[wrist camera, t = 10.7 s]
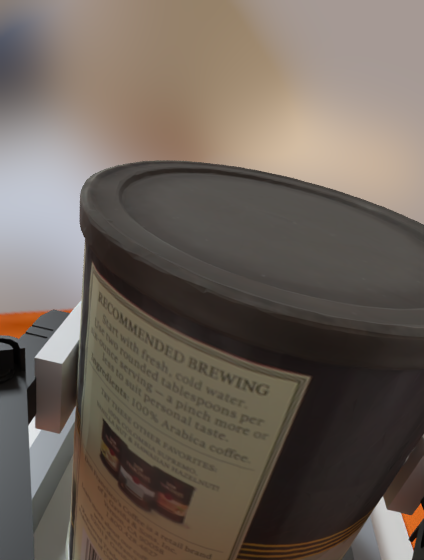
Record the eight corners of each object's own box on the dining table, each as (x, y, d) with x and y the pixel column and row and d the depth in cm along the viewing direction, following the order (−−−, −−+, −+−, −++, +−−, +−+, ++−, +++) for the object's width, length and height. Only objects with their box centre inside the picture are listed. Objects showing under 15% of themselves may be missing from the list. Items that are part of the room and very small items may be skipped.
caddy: (-310, 845, 10) (-375, 813, 8) (43, 370, 26) (44, 329, 24) (557, 1045, 10) (654, 1051, 8) (370, 446, 26) (391, 410, 24)
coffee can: (300, 453, 21) (415, 203, 15) (330, 735, 12) (670, 403, 6) (115, 408, 21) (148, 141, 15) (4, 654, 12) (-38, 235, 6)
